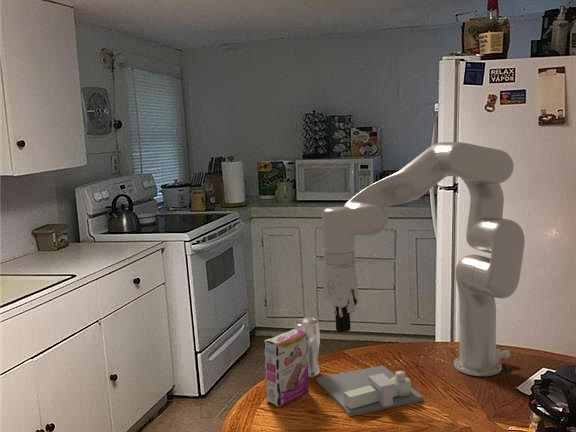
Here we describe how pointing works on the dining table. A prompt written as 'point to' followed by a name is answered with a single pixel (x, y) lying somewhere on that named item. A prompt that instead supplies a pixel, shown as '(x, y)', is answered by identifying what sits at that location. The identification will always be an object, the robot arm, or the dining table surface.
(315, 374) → the beer glass
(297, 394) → the candy bar box
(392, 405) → the board
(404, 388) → the link
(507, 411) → the dining table surface
